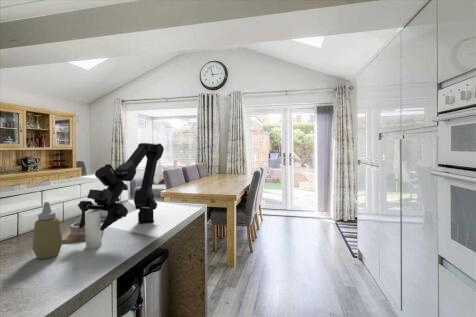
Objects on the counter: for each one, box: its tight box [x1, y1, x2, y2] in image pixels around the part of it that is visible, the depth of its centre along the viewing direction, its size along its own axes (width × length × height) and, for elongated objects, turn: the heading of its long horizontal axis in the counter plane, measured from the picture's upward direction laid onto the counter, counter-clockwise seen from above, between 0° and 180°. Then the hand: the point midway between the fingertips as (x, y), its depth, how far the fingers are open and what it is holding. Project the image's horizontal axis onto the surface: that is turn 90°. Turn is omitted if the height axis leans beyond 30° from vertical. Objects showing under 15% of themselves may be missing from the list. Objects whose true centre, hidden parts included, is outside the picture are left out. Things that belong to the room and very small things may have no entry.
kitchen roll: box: [85, 210, 102, 250], centre depth 92 cm, size 5×5×13 cm
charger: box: [101, 211, 108, 221], centre depth 132 cm, size 5×9×15 cm
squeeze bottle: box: [32, 201, 63, 260], centre depth 84 cm, size 8×8×18 cm
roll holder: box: [61, 221, 105, 244], centre depth 104 cm, size 14×14×5 cm
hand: (90, 229), depth 91 cm, fingers open, 9 cm apart
